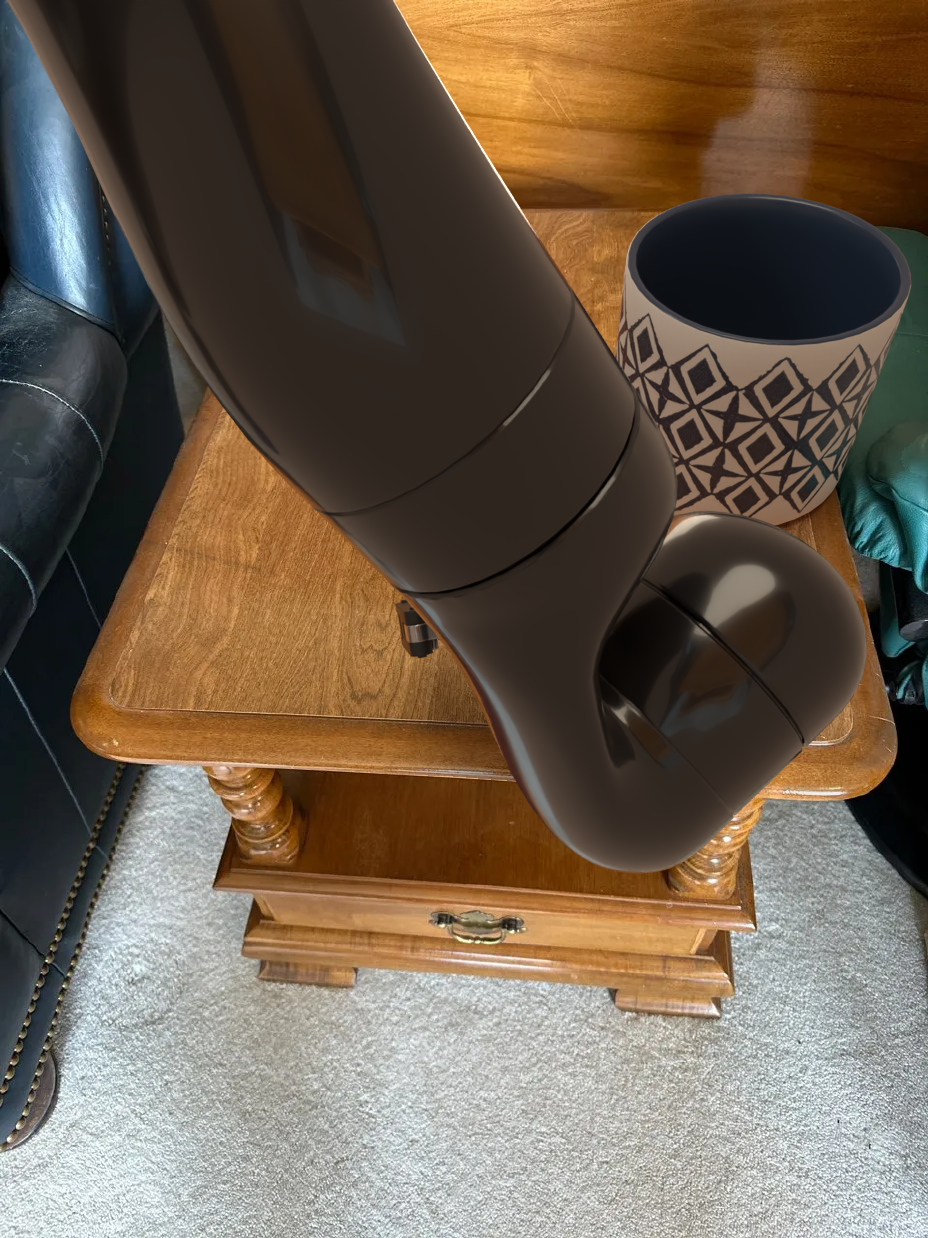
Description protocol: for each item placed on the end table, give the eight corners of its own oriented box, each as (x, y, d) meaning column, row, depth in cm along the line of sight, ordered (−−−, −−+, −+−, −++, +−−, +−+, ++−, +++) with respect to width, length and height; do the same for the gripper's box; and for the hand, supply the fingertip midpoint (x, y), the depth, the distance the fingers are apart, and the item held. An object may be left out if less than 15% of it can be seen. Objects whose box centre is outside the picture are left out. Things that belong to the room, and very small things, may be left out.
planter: (768, 362, 80) (818, 173, 67) (887, 502, 69) (974, 308, 56) (572, 407, 77) (585, 219, 64) (663, 560, 66) (700, 371, 53)
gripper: (697, 520, 43) (607, 520, 59) (392, 570, 41) (386, 556, 57) (717, 678, 44) (623, 635, 60) (419, 731, 42) (405, 673, 58)
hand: (506, 596), depth 58 cm, fingers open, 8 cm apart
